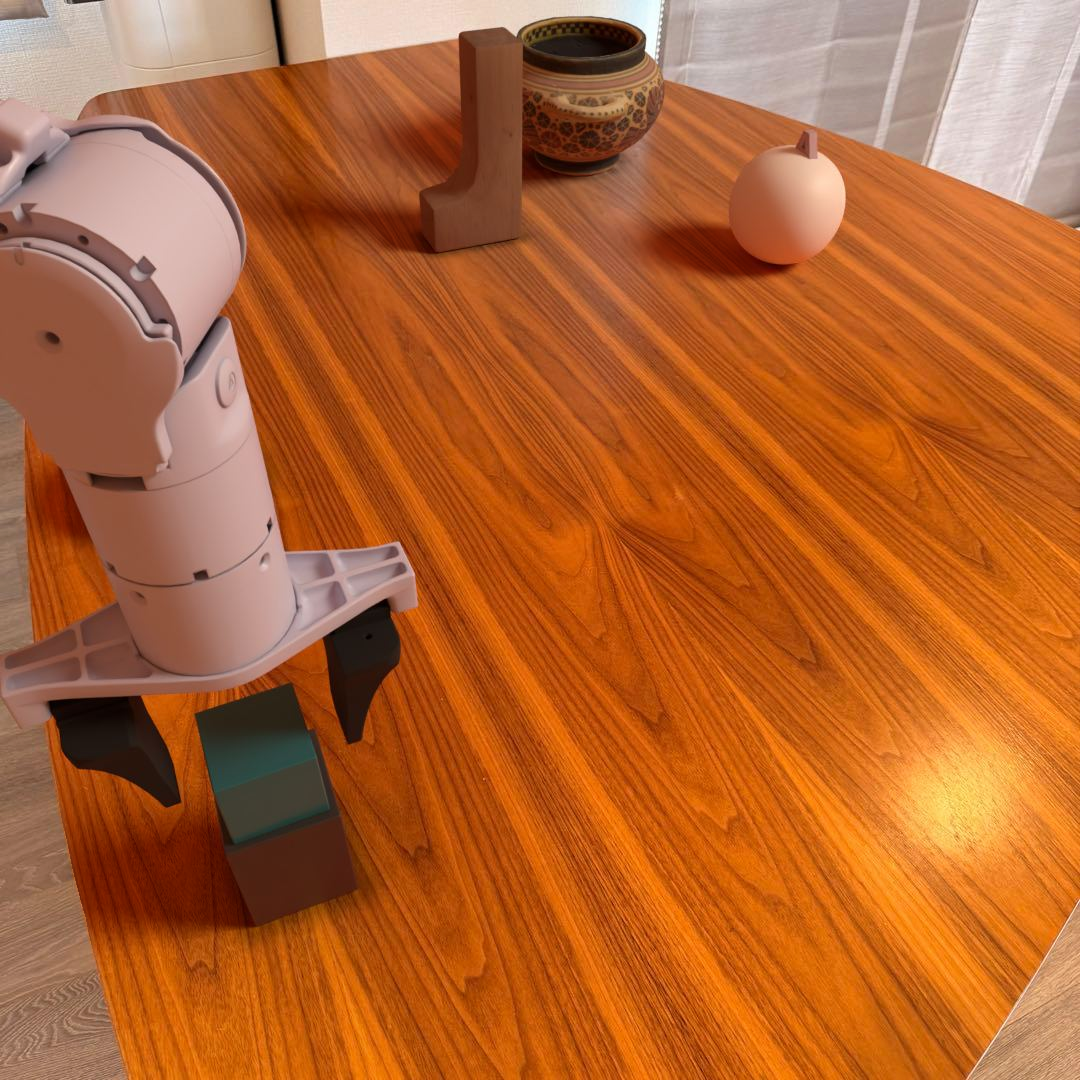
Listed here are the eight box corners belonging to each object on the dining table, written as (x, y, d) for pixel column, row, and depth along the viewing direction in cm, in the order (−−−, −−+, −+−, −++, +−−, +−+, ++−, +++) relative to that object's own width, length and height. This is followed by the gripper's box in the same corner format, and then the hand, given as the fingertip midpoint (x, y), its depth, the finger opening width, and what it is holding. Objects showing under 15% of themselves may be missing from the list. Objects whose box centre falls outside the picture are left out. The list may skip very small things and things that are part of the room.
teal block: (234, 845, 41) (212, 793, 38) (215, 767, 44) (193, 712, 41) (330, 810, 43) (316, 757, 40) (306, 736, 45) (292, 681, 42)
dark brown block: (255, 927, 46) (225, 855, 41) (237, 837, 49) (206, 760, 44) (359, 889, 47) (341, 816, 42) (334, 804, 51) (314, 727, 46)
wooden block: (435, 254, 92) (423, 53, 80) (420, 233, 95) (406, 36, 83) (522, 238, 95) (524, 41, 82) (505, 218, 98) (505, 25, 85)
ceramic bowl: (517, 138, 119) (484, 7, 109) (661, 102, 116) (640, -35, 106) (518, 234, 102) (478, 89, 91) (687, 194, 99) (665, 41, 89)
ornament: (849, 256, 94) (882, 130, 85) (793, 295, 88) (823, 165, 80) (759, 221, 99) (782, 99, 90) (701, 257, 93) (719, 130, 85)
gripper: (364, 405, 37) (394, 636, 46) (-57, 506, 32) (72, 738, 42) (426, 523, 32) (445, 753, 42) (-54, 659, 28) (90, 881, 37)
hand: (261, 754), depth 42 cm, fingers open, 7 cm apart
